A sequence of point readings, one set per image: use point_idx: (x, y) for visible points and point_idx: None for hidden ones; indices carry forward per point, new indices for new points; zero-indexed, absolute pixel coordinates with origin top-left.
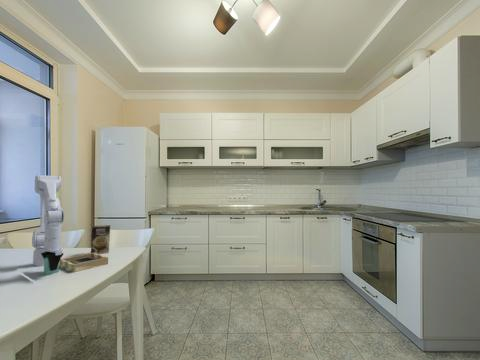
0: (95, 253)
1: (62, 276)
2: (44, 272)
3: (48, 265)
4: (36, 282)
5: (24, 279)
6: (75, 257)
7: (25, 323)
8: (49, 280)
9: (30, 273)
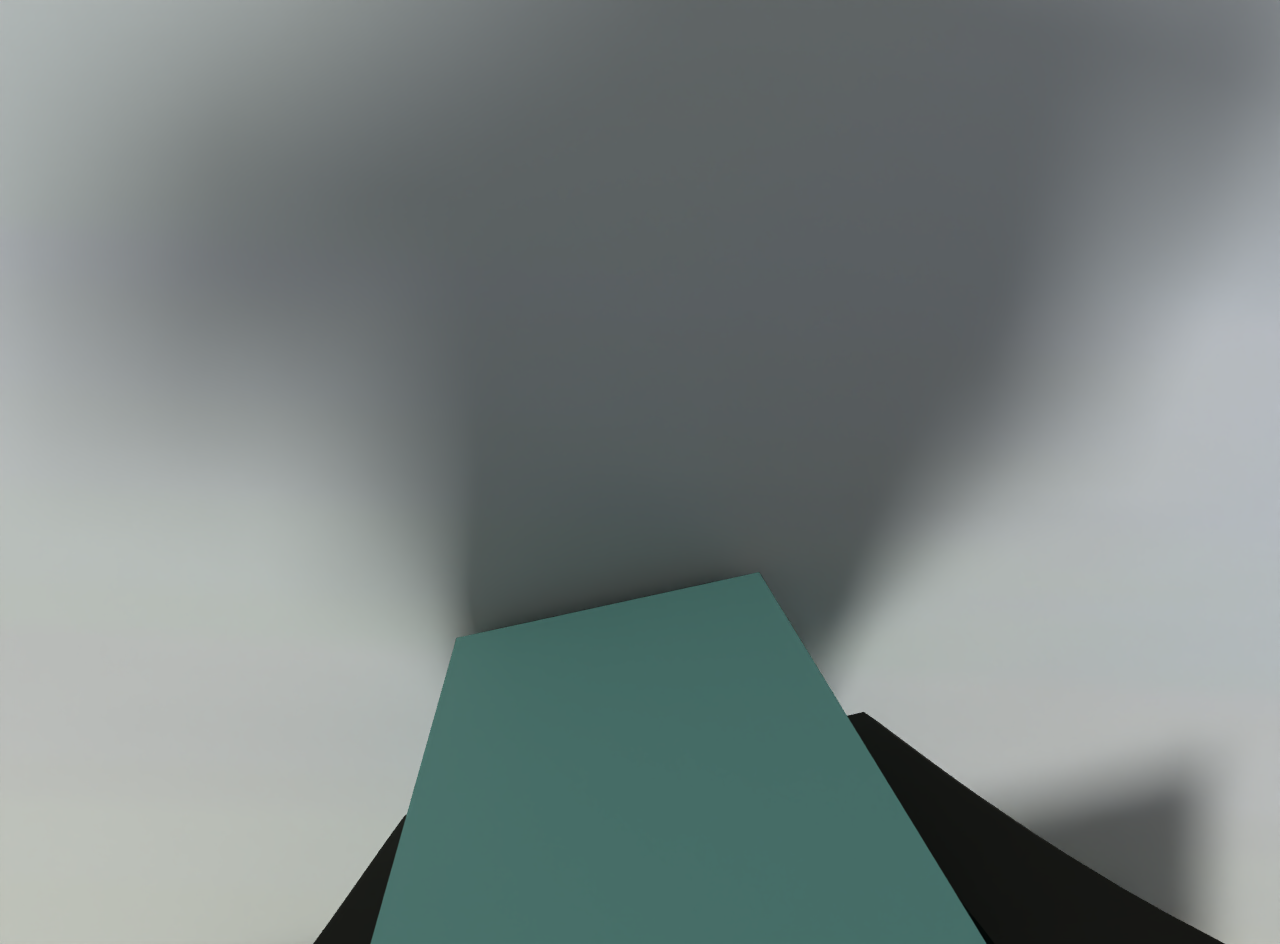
0: None
1: (222, 928)
2: (708, 612)
3: (384, 932)
4: (28, 336)
5: (669, 51)
6: None
7: None
8: (19, 650)
9: (1238, 267)
